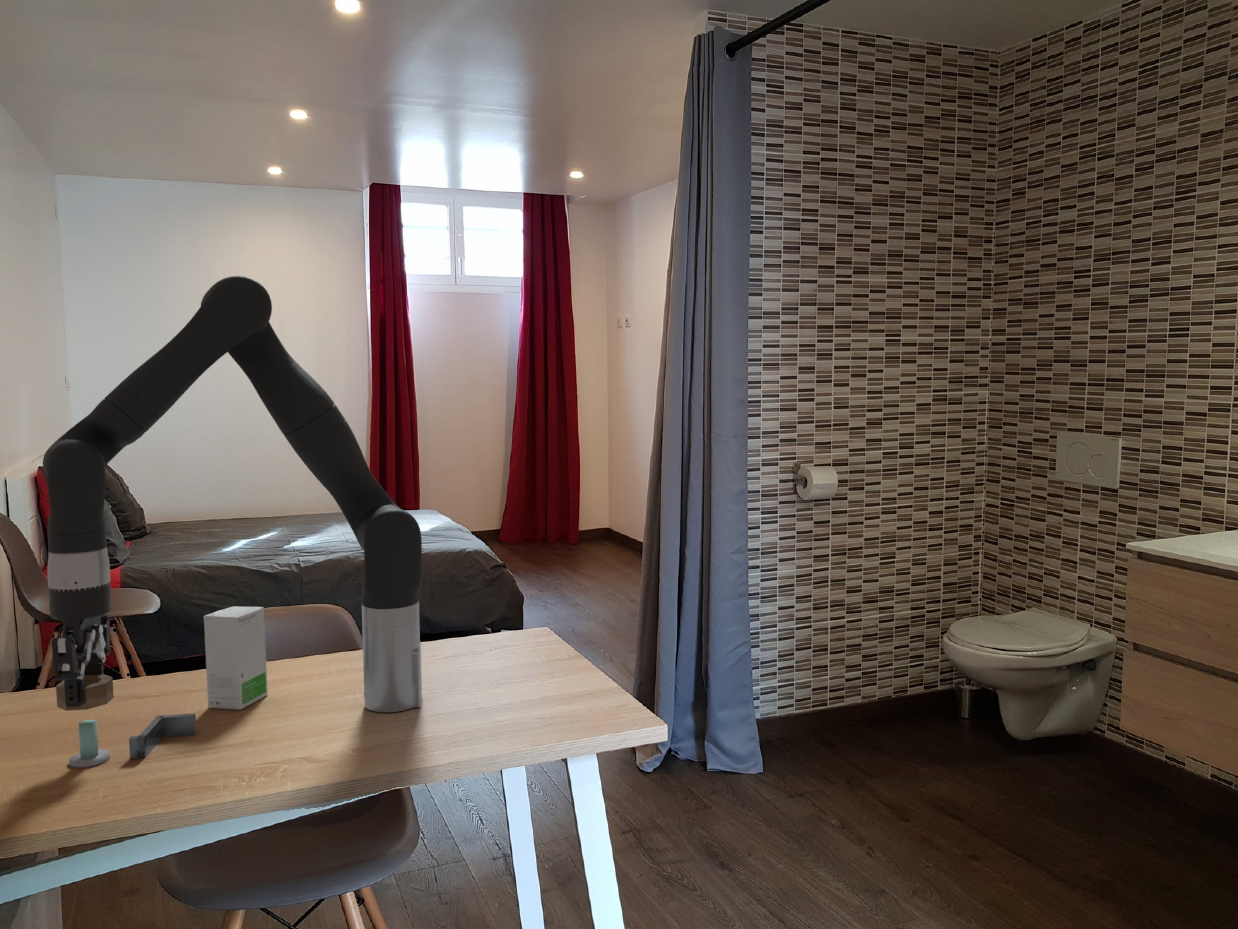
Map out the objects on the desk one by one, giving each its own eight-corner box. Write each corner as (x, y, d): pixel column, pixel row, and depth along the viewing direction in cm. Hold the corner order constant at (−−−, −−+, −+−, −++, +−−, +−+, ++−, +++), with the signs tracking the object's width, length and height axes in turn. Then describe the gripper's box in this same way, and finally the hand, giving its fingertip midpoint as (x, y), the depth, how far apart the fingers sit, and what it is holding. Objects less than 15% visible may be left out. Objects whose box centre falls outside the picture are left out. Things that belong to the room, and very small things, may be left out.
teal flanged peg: (115, 752, 133) (113, 715, 132) (101, 766, 128) (99, 727, 127) (77, 754, 132) (75, 717, 131) (63, 769, 127) (60, 730, 126)
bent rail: (196, 732, 140) (195, 713, 140) (178, 755, 131) (177, 735, 131) (150, 735, 139) (150, 716, 139) (130, 759, 130) (128, 738, 130)
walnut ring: (118, 693, 133) (117, 673, 133) (101, 708, 126) (100, 687, 126) (70, 696, 132) (69, 675, 131) (51, 711, 125) (49, 690, 125)
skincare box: (240, 711, 149) (236, 618, 148) (204, 708, 151) (200, 616, 149) (269, 694, 157) (266, 605, 156) (235, 691, 159) (231, 604, 157)
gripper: (88, 591, 121) (94, 714, 123) (127, 570, 135) (132, 680, 137) (26, 594, 120) (33, 717, 121) (72, 571, 134) (77, 682, 135)
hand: (85, 697), depth 129 cm, fingers closed on walnut ring, 6 cm apart
